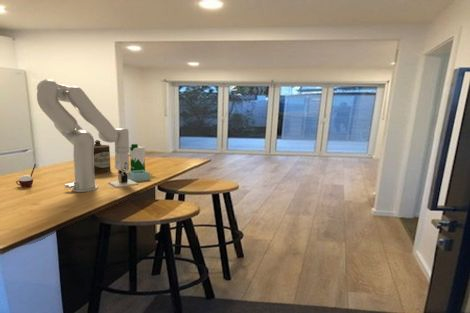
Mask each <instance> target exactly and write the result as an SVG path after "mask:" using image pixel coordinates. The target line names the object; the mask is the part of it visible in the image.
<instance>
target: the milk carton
mask: <svg viewBox="0 0 470 313" xmlns="http://www.w3.org/2000/svg"><path fill="white" fill-rule="evenodd" d="M129 154H130V155H129V156H130V157H129V161H130V171H136V170H145V171H146V165H145V164H146V161H145V160H146V157H145V155H146V147H145V146H138V144H137V143H131V145H130V146H129Z"/></svg>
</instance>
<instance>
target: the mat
mask: <svg viewBox="0 0 470 313" xmlns="http://www.w3.org/2000/svg"><path fill="white" fill-rule="evenodd" d="M107 184H108V185H110V186H112V187H114V188H115V189H117V188H120V187H115V186H113V185H111V184H109V182H108V183H107ZM137 185H139V184H138V183H137ZM137 185H136V186H137ZM131 186H133V185H130V186H129V187H131ZM124 187H126V186H123V187H122V188H124Z"/></svg>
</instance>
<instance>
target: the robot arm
mask: <svg viewBox="0 0 470 313" xmlns="http://www.w3.org/2000/svg"><path fill="white" fill-rule="evenodd" d="M36 91H37V93H36V101H37V104H38V106H39V107H40V110H42V112H43V113H44V114H45V115H46V116H47V117H48V118H49V119H50V120H51V122H53V125H54V127H55V128H56V130H57V131H58V132H59V133H60V134H61V135H62V136H63V137H64V138H65V139H66V141H69V143H71V145H73V166H74V167H73V170H74V180H73V182H71V183H65V184H64V188H65V189H68V188H69V189H71V191H72V192H76V193H86V192H87V193H88V192H93V191H96V190H98V189H99V185H98V184H96V180H95V179H96V178H95V177H96V176H95V175H96V174H95V173H94V144H95V139H94V136H93V135H92V133H90V132H89V131H87V130H84V129H83V127H81V126H80V125H79V124H78V121H77V119H76V118H75V117H74V115H72V114H71V113H70V112H69V111H68V110H67V109H66V107H65V106H64V105H62V104H61V102H63V103H64V102H65V103H70V104H71V105H72V106H73V108H74V109H75V110H76V111H77V113H78V114H79V115H80V117H82V118H83V119H84V120H85V121H86V122H87V123H88V124H90V125H92V126H93V127H94V128H95V129H96V131H97V132H98V133H97V134H98V138H99V139H100V140H101V141H103V142H105V143H106V142H107V143H109V144H112V143H114V153H115V156H114V168H115V169H116V170H117V174H118V173H122V182H128V176H127V175H128V171H129V169H130V157H129V156H130V155H129V154H130V149H129V147H130V140H129V133H130V132H129V129H128V128H125V127H124V128H123V127H119V128H118V127H117V128H115V127H114V126H113V125H112V123H111V122H110V121H109V120H108V118H106V116H105V115H103V113H102V112H101V111H100V110H99V108H97V107H96V105H95V104H94V103H93V101H92V100H91V99H90V98H89V96H88V95H87V93H86V92H85V91H84V90H83V89H82V88H81V87H79V86H78V85H77V86H76V85H71V86H69V85H65V84H62V83H61V84H60V83H57V82H56V81H55V80H53V79H49V78H48V79H47V78H46V79H43V80H42V81H39V82H38V83H37V86H36ZM117 177H118V178H117V181H119V174H118V176H117Z"/></svg>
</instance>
